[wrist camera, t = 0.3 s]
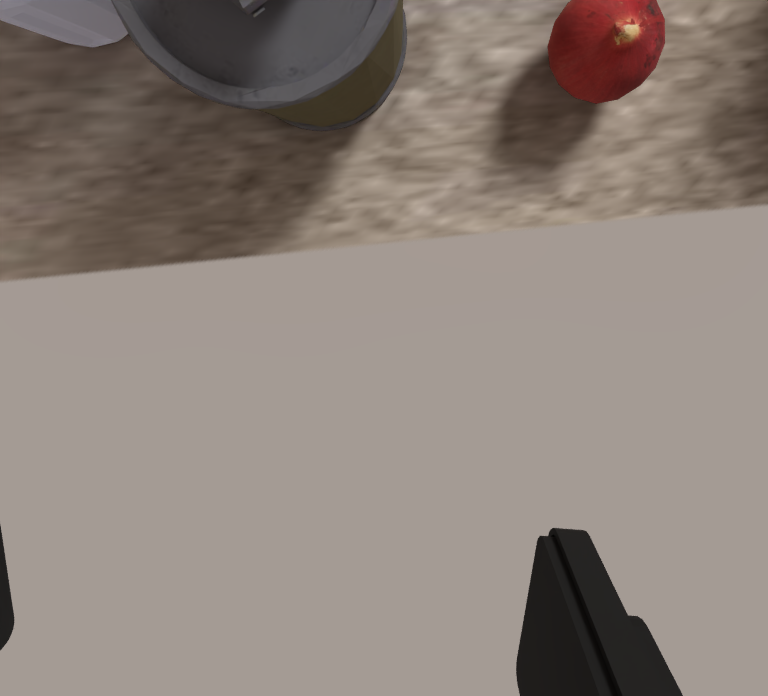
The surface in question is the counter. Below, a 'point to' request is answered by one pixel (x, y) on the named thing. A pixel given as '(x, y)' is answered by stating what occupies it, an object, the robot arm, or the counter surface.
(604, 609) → the robot arm
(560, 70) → the onion
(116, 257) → the counter surface
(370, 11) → the canister
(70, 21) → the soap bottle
